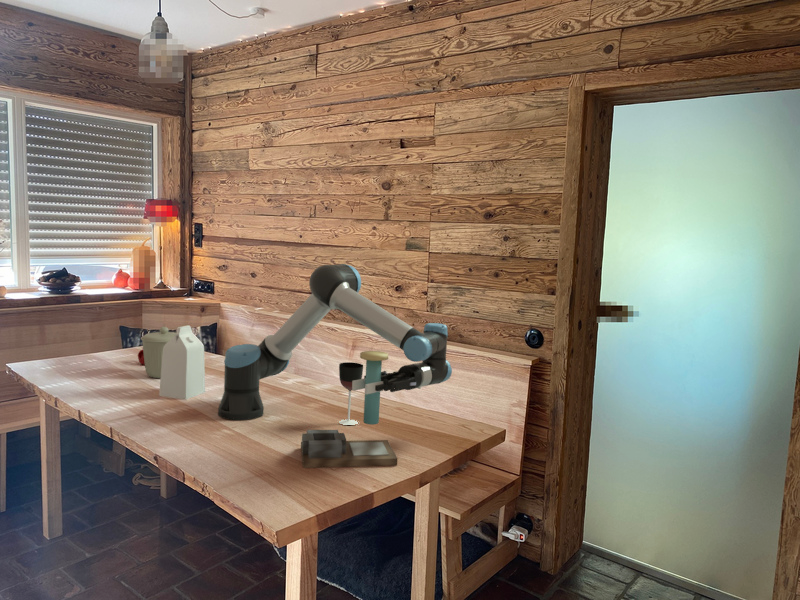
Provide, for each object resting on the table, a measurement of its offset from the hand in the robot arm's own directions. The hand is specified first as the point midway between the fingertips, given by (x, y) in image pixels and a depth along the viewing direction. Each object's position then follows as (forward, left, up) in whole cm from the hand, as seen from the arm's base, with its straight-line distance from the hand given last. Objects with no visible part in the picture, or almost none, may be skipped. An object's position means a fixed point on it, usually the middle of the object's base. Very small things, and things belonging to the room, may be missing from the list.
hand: (359, 387), depth 163 cm
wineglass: (+2, +34, -21) cm, 40 cm away
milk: (-57, +71, -21) cm, 94 cm away
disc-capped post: (+4, +3, -11) cm, 12 cm away
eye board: (-2, +3, -21) cm, 21 cm away
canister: (-69, +100, -21) cm, 124 cm away
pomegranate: (-79, +123, -21) cm, 148 cm away
